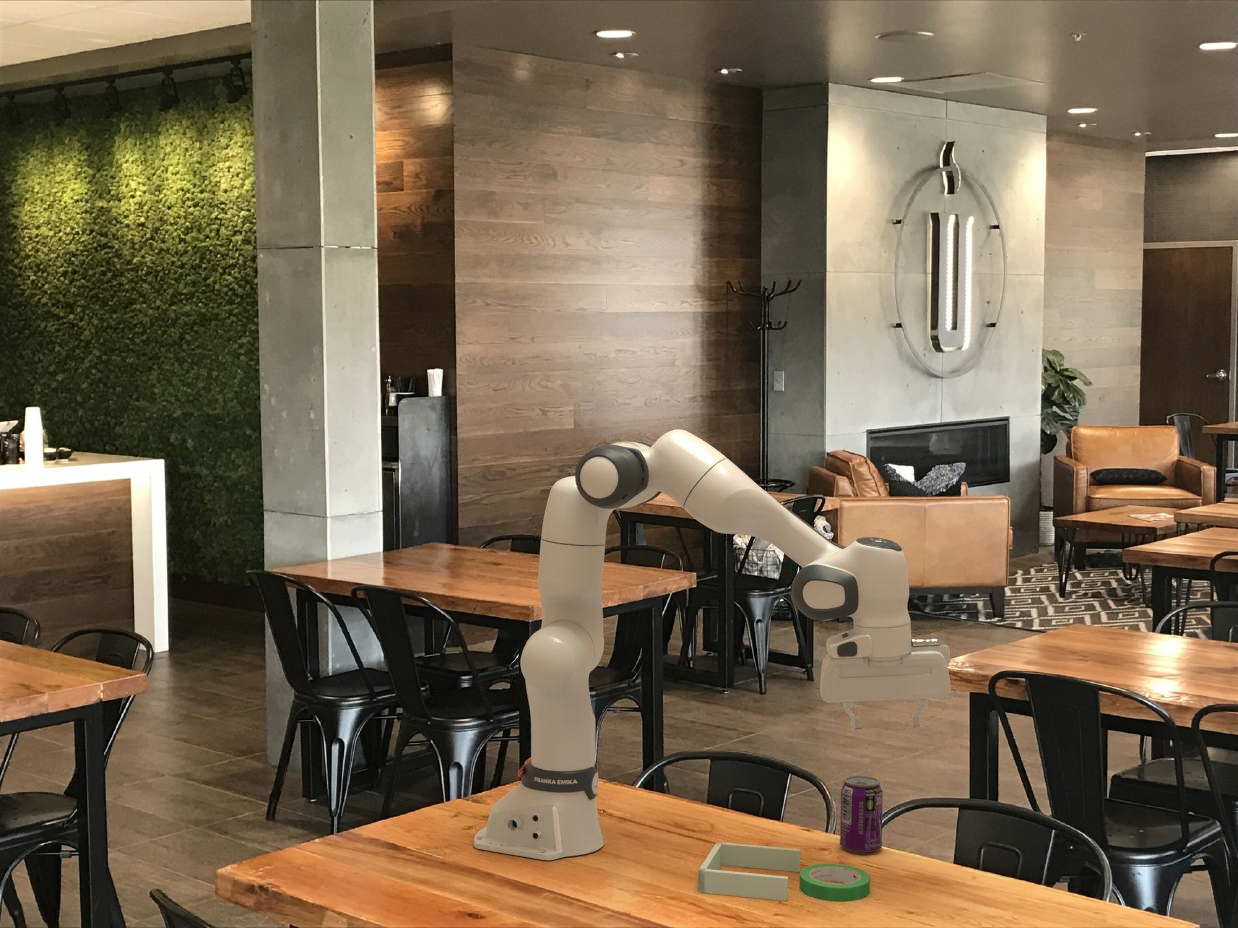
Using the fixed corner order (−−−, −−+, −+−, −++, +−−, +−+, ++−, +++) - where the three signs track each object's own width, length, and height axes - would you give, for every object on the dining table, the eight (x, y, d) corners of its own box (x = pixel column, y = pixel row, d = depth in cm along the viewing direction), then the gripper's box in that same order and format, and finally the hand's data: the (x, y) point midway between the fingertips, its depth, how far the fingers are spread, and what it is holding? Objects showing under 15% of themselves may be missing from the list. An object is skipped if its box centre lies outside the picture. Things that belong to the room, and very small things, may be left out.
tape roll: (871, 905, 225) (871, 888, 225) (799, 901, 226) (799, 884, 226) (868, 881, 236) (868, 864, 236) (799, 877, 237) (799, 861, 237)
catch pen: (698, 892, 229) (698, 870, 229) (716, 862, 244) (716, 841, 243) (786, 900, 225) (787, 878, 225) (800, 870, 240) (800, 849, 240)
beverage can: (881, 856, 247) (882, 787, 246) (838, 853, 248) (840, 784, 248) (882, 844, 254) (883, 776, 253) (841, 841, 255) (842, 773, 255)
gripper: (946, 633, 231) (950, 719, 232) (816, 639, 233) (820, 724, 234) (953, 641, 225) (956, 729, 226) (819, 647, 226) (824, 735, 227)
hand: (886, 727), depth 230 cm, fingers open, 8 cm apart
